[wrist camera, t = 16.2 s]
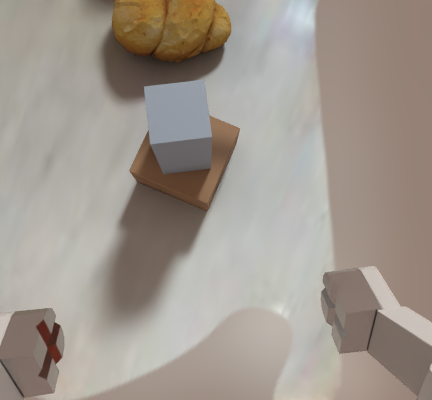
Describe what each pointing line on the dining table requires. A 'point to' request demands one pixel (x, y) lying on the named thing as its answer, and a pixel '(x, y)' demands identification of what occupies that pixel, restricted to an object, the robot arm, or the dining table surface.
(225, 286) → the dining table surface
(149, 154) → the walnut block
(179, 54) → the bread roll
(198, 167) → the slate block
